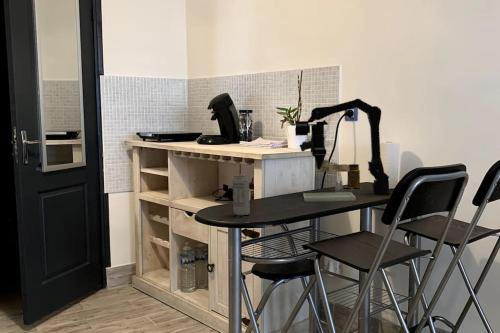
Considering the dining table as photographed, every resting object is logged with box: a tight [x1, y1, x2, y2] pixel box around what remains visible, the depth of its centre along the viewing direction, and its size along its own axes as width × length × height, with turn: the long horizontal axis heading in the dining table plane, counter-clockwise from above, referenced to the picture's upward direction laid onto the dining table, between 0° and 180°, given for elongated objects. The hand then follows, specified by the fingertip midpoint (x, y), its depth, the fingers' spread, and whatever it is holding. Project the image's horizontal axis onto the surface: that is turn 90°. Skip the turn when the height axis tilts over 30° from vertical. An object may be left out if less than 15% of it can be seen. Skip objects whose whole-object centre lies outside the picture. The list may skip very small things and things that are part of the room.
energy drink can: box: [232, 173, 251, 216], centre depth 185 cm, size 6×6×15 cm
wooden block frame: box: [314, 159, 349, 173], centre depth 230 cm, size 15×9×5 cm, turn 86°
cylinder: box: [334, 180, 343, 193], centre depth 231 cm, size 3×3×6 cm
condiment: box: [346, 163, 361, 188], centre depth 250 cm, size 7×8×12 cm
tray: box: [303, 191, 356, 203], centre depth 218 cm, size 21×14×2 cm
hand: (318, 168), depth 231 cm, fingers closed on wooden block frame, 4 cm apart
